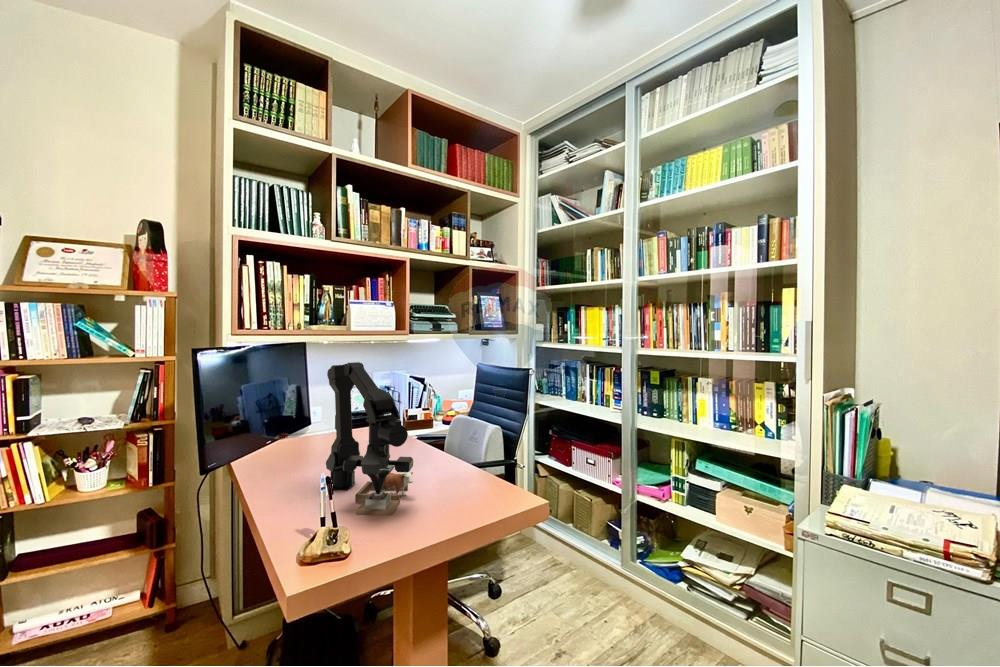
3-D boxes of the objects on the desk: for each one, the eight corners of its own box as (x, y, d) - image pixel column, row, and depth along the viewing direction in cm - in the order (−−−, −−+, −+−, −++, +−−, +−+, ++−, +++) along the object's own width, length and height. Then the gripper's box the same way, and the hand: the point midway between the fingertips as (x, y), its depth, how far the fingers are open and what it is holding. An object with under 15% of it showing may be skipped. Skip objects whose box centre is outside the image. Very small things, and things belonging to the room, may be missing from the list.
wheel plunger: (369, 507, 115) (370, 496, 115) (374, 501, 119) (374, 491, 119) (382, 507, 115) (382, 496, 115) (386, 502, 119) (386, 491, 118)
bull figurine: (410, 501, 122) (411, 474, 122) (370, 496, 126) (371, 470, 126) (417, 496, 127) (417, 469, 126) (378, 491, 130) (379, 465, 130)
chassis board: (345, 514, 113) (345, 500, 113) (367, 489, 131) (367, 477, 131) (392, 515, 113) (392, 501, 113) (407, 490, 131) (407, 478, 131)
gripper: (334, 446, 109) (334, 504, 109) (404, 448, 108) (403, 506, 109) (350, 435, 120) (350, 488, 120) (414, 437, 120) (413, 490, 120)
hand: (378, 493), depth 117 cm, fingers closed, pressing on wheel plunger
